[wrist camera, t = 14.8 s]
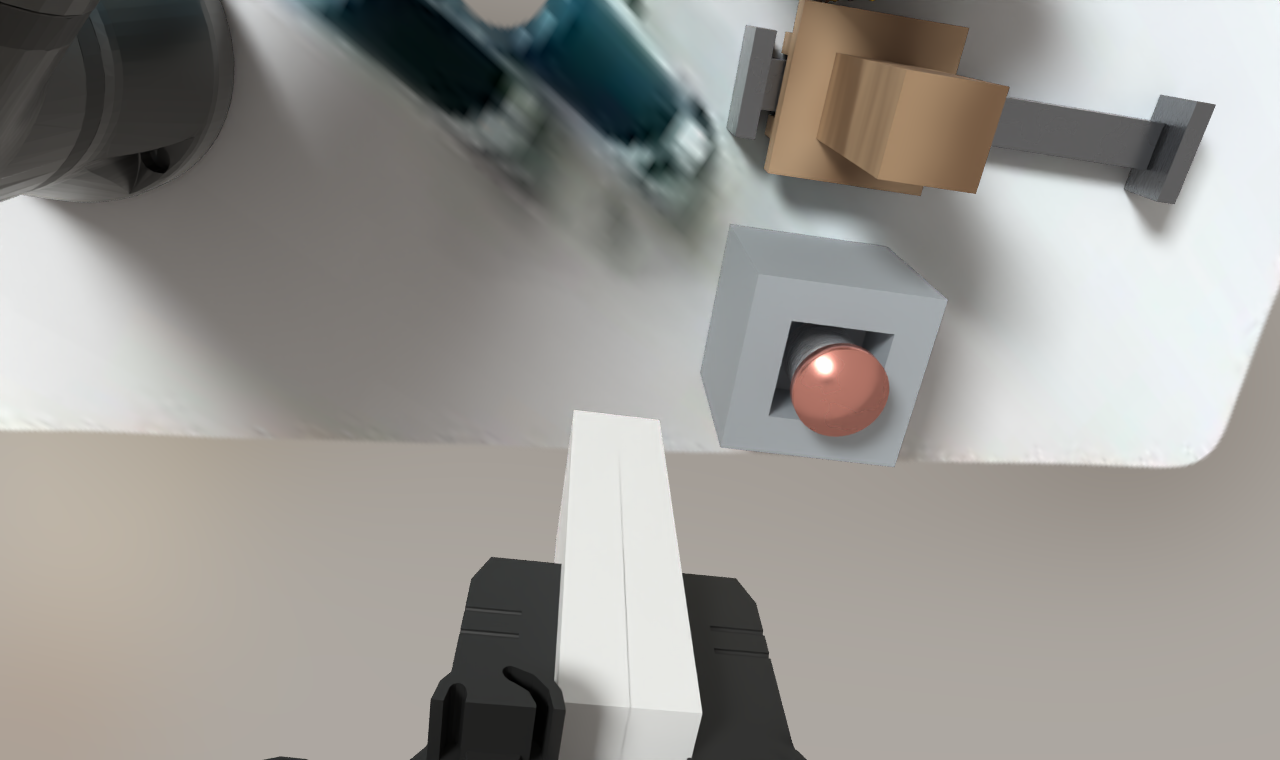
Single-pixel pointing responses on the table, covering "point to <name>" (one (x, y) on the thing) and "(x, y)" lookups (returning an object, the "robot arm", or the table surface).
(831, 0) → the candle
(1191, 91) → the table surface
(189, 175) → the table surface
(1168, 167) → the rail
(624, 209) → the table surface
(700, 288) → the table surface
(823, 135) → the carriage
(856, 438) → the housing
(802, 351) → the plunger
